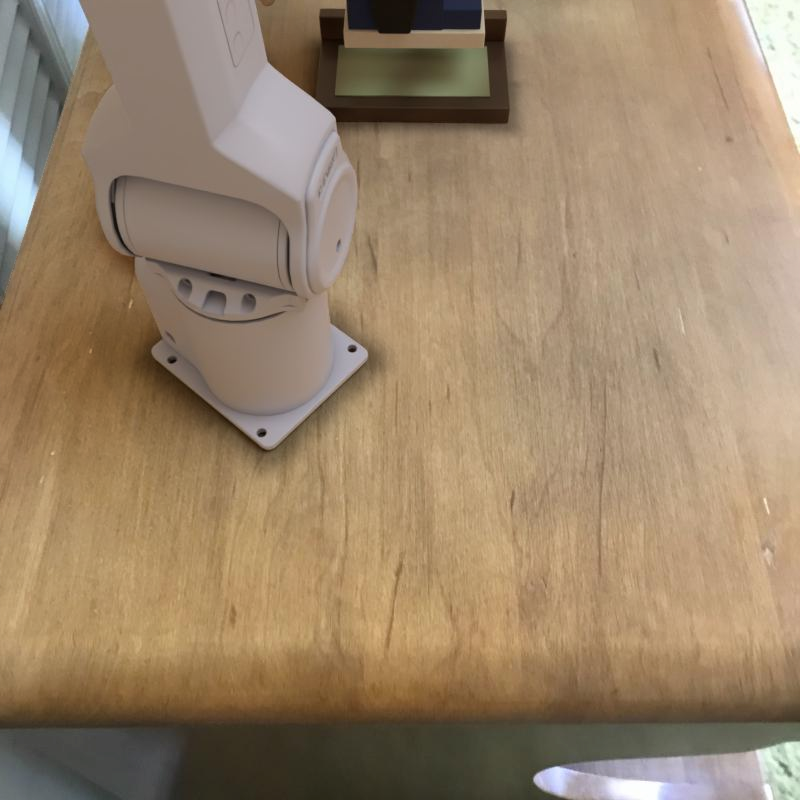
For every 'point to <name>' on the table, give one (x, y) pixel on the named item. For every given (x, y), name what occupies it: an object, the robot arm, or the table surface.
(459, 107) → the brown tray with backboard
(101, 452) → the table surface
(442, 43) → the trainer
